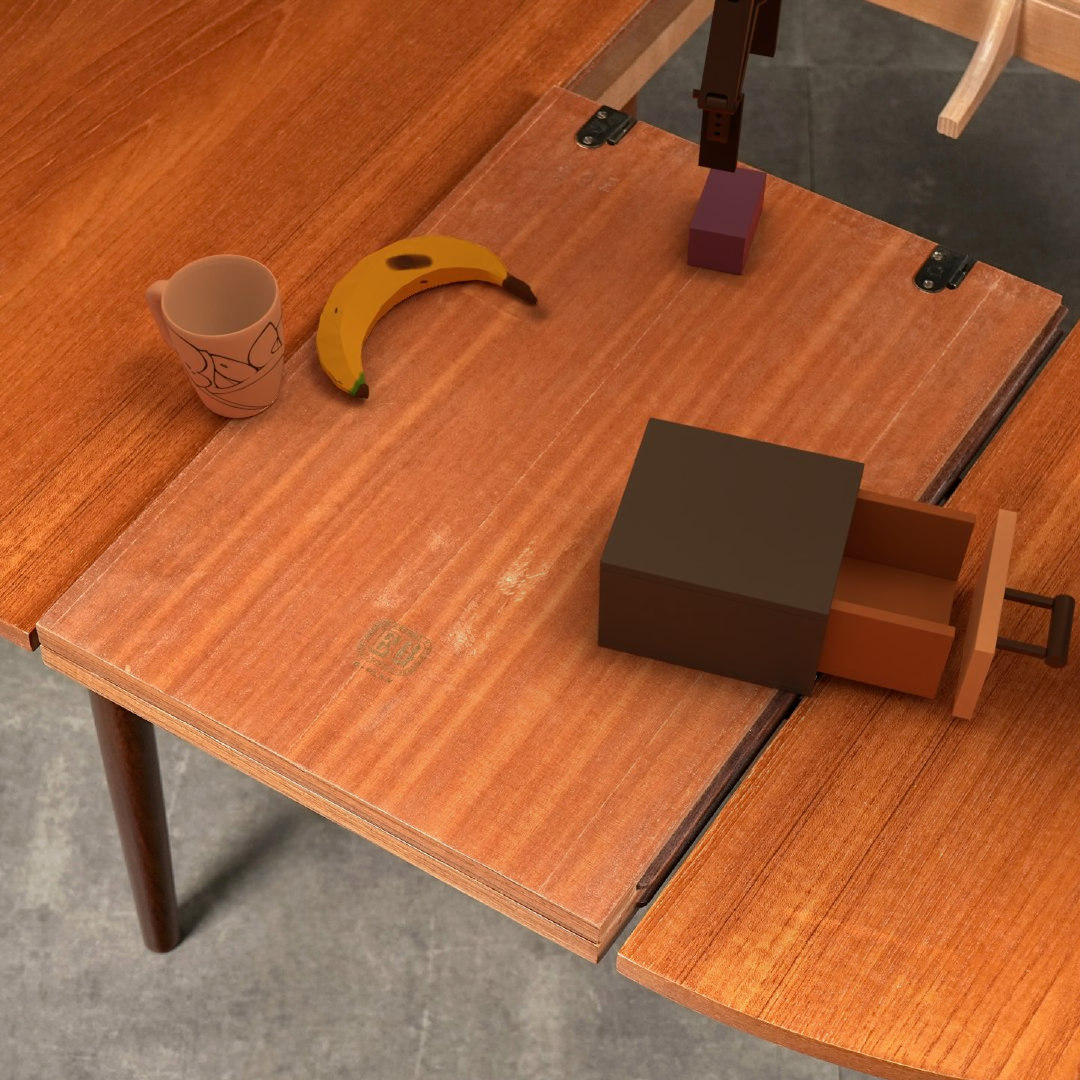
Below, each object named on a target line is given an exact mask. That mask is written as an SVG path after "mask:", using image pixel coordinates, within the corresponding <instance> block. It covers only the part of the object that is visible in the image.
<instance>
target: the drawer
mask: <svg viewBox="0 0 1080 1080" xmlns="http://www.w3.org/2000/svg"><path fill="white" fill-rule="evenodd" d="M977 517H978V516H977V514H976V513H972V512H968V511H963V510H958V509H954V508H949V507H945V506H940V505H935V504H931V503H926V502H922V501H916V500H913V499H908V498H903V497H899V496H894V495H891V494H885V493H881V492H876V491H871V490H866V489H862V488H860V489H859V492H858V496H857V500H856V504H855V508H854V513H853V517H852V521H851V525H850V529H849V534H848V538H847V542H846V546H845V550H844V554H843V559H842V563H841V567H840V571H839V575H838V579H837V584H836V588H835V592H834V596H833V600H832V605H831V609H830V613H829V618H828V622H827V627H826V631H825V636H824V641H823V645H822V650H821V655H820V659H819V664H818V669H817V673H818V672H819V673H824V674H827V675H830V676H835V677H839V678H843V679H848V680H852V681H857V682H861V683H864V684H869V685H873V686H877V687H881V688H885V689H890V690H894V691H898V692H902V693H906V694H911V695H915V696H918V697H924V698H928V699H931V700H935V697H936V695H937V691H938V689H939V685H940V682H941V679H942V677H943V673H944V670H945V667H946V665H947V661H948V658H949V655H950V652H951V648H952V645H953V642H954V639H955V634H956V630H957V627H956V626H953V625H950V621H951V617H952V611H953V606H954V599H955V594H956V588H957V583H958V579H959V576H960V573H961V570H962V567H963V564H964V560H965V558H966V554H967V551H968V548H969V545H970V541H971V538H972V535H973V532H974V528H975V526H976V522H977ZM1017 520H1018V512H1017V511H1013V510H1008V509H1004V508H999V509H998V511H997V515H996V517H995V521H994V524H993V527H992V530H991V532H990V536H989V539H988V542H987V545H986V548H985V551H984V554H983V556H982V559H981V563H980V566H979V569H978V572H977V575H976V579H975V583H974V590H973V594H972V599H971V600H972V601H971V606H970V612H969V616H968V623H967V630H966V633H965V634H966V635H965V640H964V645H963V651H962V657H961V661H960V662H961V663H960V667H959V673H958V677H957V685H956V690H955V695H954V701H953V707H952V713H951V716H952V717H957V718H960V719H966V720H971V719H972V716H973V714H974V712H975V709H976V706H977V703H978V700H979V697H980V694H981V692H982V689H983V686H984V684H985V681H986V678H987V675H988V674H989V673H988V672H989V670H990V668H991V664H992V662H993V658H994V656H995V653H996V649H997V650H1001V651H1005V652H1009V653H1010V652H1011V653H1014V654H1018V655H1023V656H1028V657H1031V658H1036V659H1040V660H1043V661H1044V664H1045V665H1046V666H1047V667H1049V668H1051V669H1057V670H1059V669H1063V668H1066V666H1067V665H1068V661H1069V652H1070V645H1071V639H1072V631H1073V623H1074V615H1075V608H1076V599H1075V598H1074V597H1073V596H1072V595H1069V594H1064V593H1059V594H1057V595H1055V596H1053V597H1052V596H1047V595H1042V594H1038V593H1034V592H1029V591H1024V590H1019V589H1015V588H1012V587H1007V580H1008V574H1009V569H1010V564H1011V563H1010V562H1011V557H1012V550H1013V544H1014V539H1015V533H1016V527H1017V526H1016V525H1017ZM1004 600H1005V601H1009V602H1014V603H1018V604H1024V605H1027V606H1031V607H1036V608H1041V609H1045V610H1049V611H1050V618H1049V625H1048V631H1047V638H1046V646H1041V645H1036V644H1032V643H1028V642H1023V641H1019V640H1016V639H1011V638H1006V637H1003V636H999V635H998V634H999V629H1000V623H1001V617H1002V611H1003V606H1004V605H1003V604H1004Z"/></svg>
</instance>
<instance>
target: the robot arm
mask: <svg viewBox="0 0 1080 1080" xmlns="http://www.w3.org/2000/svg"><path fill="white" fill-rule="evenodd" d="M782 3H783V0H714V3H713V10H712V17H711V22H710V28H709V34H708V41H707V47H706V53H705V58H704V65H703V70H702V71H703V72H702V77H701V84H700V89H698V88H692V89H693V90H692V99H696V103H697V106H696V107H697V109H698V110H702V115H701V125H700V126H701V127H700V137H699V138H700V139H699V151H698V161H697V167H701V168H707V169H716V170H722V171H727V172H732V173H735V170H736V167H738V159H739V151H740V150H739V149H740V141H741V131H742V122H743V116H744V115H743V112H744V105H745V96H746V94H745V93H743V87H744V82H745V77H746V72H747V67H748V62H749V57H750V54H751V55H755V56H762V57H767V58H775V54H776V51H777V45H778V44H777V43H778V35H779V27H780V19H781V12H782Z"/></svg>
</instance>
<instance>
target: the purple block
mask: <svg viewBox="0 0 1080 1080" xmlns="http://www.w3.org/2000/svg"><path fill="white" fill-rule="evenodd" d="M767 176H768V174H767V172H765V171H760V170H754V169H748V168H743V167H738V166H737V167H736V170H735V173H732V172H727V171H722V170H716V169H711V168H709V172H708V175H707V178H706V179H705V183H704V186H703V189H702V191H701V194H700V197H699V200H698V203H697V206H696V208H695V211H694V214H693V216H692V220H691V222H690V225H689V228H688V242H687V243H688V244H687V253H686V254H687V256H686V265H689V266H693V267H699V268H702V269H703V268H704V269H707V270H708V269H709V270H713V271H719V272H723V273H727V274H728V273H729V274H733V275H739V276H741V275H742V274H743V271H744V268H745V265H746V263H747V259H748V255H749V253H750V251H751V247H752V244H753V241H754V237H755V235H756V230H757V228H758V224H759V221H760V218H761V216H762V213H763V210H764V202H765V201H764V200H765V193H766V183H767Z"/></svg>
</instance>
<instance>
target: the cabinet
mask: <svg viewBox="0 0 1080 1080" xmlns="http://www.w3.org/2000/svg"><path fill="white" fill-rule="evenodd" d="M865 466H866V463H865V462H860V461H855V460H851V459H847V458H842V457H838V456H832V455H828V454H823V453H818V452H814V451H809V450H806V449H805V450H804V449H801V448H796V447H791V446H787V445H781V444H777V443H773V442H767V441H762V440H758V439H753V438H750V437H744V436H740V435H735V434H731V433H726V432H721V431H716V430H711V429H706V428H703V427H697V426H693V425H689V424H684V423H679V422H674V421H670V420H665V419H660V418H655V417H651V416H649V418H648V421H647V425H646V427H645V430H644V433H643V435H642V438H641V441H640V444H639V447H638V450H637V453H636V456H635V459H634V462H633V464H632V467H631V470H630V473H629V476H628V479H627V481H626V485H625V488H624V491H623V493H622V497H621V499H620V502H619V505H618V508H617V511H616V513H615V517H614V520H613V522H612V524H611V525H612V526H611V528H610V531H609V534H608V537H607V540H606V542H605V544H604V545H605V546H604V548H603V550H602V551H603V552H602V554H601V558H600V559H599V560H600V561H599V575H598V576H599V580H598V615H597V616H598V617H597V618H598V622H597V646H599V647H601V648H606V649H607V648H608V649H611V650H614V651H619V652H623V653H628V654H632V655H636V656H640V657H644V658H648V659H652V660H656V661H660V662H665V663H669V664H673V665H677V666H682V667H685V668H689V669H693V670H698V671H702V672H706V673H711V674H714V675H719V676H722V677H725V678H731V679H735V680H739V681H743V682H746V683H752V684H756V685H760V686H763V687H767V688H772V689H777V690H779V691H783V692H788V693H791V694H797V695H802V696H805V697H808V698H809V697H812V695H813V691H814V686H815V683H816V682H815V681H816V678H817V674H818V671H817V669H818V664H819V659H820V655H821V650H822V645H823V641H824V636H825V631H826V627H827V622H828V618H829V613H830V609H831V605H832V600H833V596H834V592H835V588H836V584H837V579H838V575H839V571H840V567H841V563H842V559H843V554H844V550H845V546H846V542H847V538H848V534H849V529H850V525H851V521H852V517H853V513H854V508H855V504H856V500H857V496H858V492H859V489H861V484H862V481H863V476H864V470H865Z"/></svg>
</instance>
